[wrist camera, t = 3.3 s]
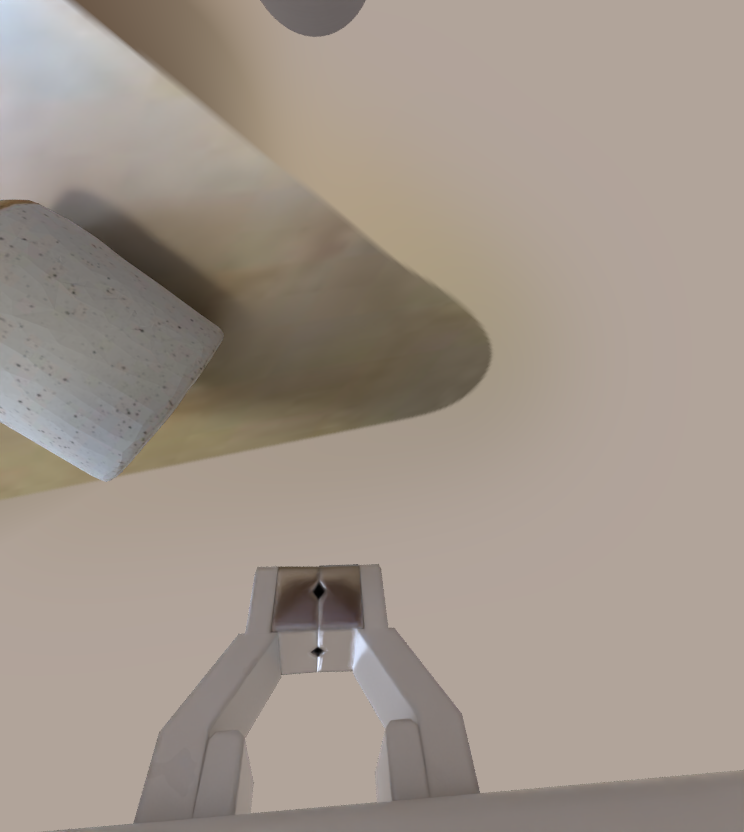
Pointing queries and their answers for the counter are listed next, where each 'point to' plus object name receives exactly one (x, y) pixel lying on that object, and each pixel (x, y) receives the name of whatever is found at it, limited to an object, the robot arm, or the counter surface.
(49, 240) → the ceramic mug
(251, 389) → the counter surface
